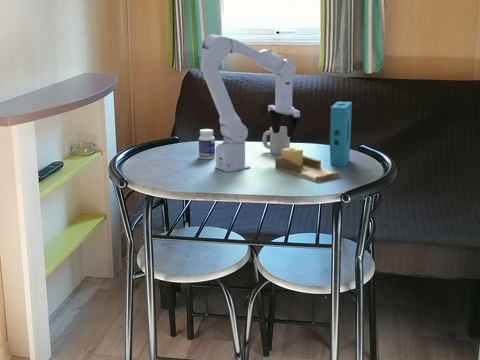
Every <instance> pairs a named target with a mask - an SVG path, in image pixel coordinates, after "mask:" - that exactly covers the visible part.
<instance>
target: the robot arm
mask: <svg viewBox="0 0 480 360" xmlns="http://www.w3.org/2000/svg"><path fill="white" fill-rule="evenodd" d="M200 50H201V56H200V65H199V67H200V71H201V73H202V76H203V78H204V80H205V83H206V85H207V87H208V91H209V92H210V95H211V97H212V100H213V103H214V105H215V107H216V110H217V112H218V115H219V119H218V121H219V124H220V127H219V128H220V134H221V135H222V136H223V140H222V142H221V143H219V144H217V145H216V146H215V165H214V167H215V169H218V170H221V171H224V172H227V173H229V172H236V171H241V170H245V169H249V168H251V165H248V164H246V139H247V138H248V136H249V135H248V134H249V130H248V128H247V126H246V125H245V124H244V123H243V122H242V120H241V118H240V116H238V113H237V112H236V111H235V109H234V105H233V103H232V101H231V97H230V96H229V92H228V91H227V87H226V86H225V83H224V80H223V77H222V75H221V73H220V70H219V67H220V65H221V64H222V62H223V61H224V59H226V57H228V55H229V54H235V53H237V54H240V55H242V56H245V57H247V58H249V59H251V60H254V62H255V64H256V66H258V67H260V68H262V69H264V70H266V71H270V72H271V73H273V74H274V75H275V83H274V84H275V89H274V90H275V91H274V92H275V93H274V95H275V98H274V104H275V105H274V104H269V105H267V111H268V112H267V113H266V116H267V118H268V119H269V122H270V125H271V127H272V129H273V133H279V131H280V126H281V120H282V118H284V121H285V125H286V126H285V127H287V136H288V137H290V138H293V137H294V136H295V132H296V128H297V125H298V123H299V121H300V120H301V111H300V110H298V109H296V108H295V107H294V106H293V81H294V75H295V74H296V72H297V67H296V65H295V63H294V62H293V60H291V59H286V58H284V55H281V54H280V55H278V54H276V53H273V52H272V49H270V48H266V49H265V48H264V49H260V50H257V49H256V48H253V47H252V46H250V45H247V44H246V43H244V42H242V41H240V40H238V39H234V38H231V37H227V36H224V35H217V34H208V35H207V36H206V37H205V38H204V40H203V41H202V44H201V45H200ZM283 115H287V116H284V117H283Z"/></svg>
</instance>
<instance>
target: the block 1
mask: <svg viewBox="0 0 480 360" xmlns="http://www.w3.org/2000/svg"><path fill="white" fill-rule="evenodd" d="M280 156H281V157H280V158H282V159H285V160H288V161H291V162H295V163H298V164H301V165H303V156H304V150H303V149H301V148H298V147H293V146H292V147H291V146H290V148H286V149H282V150H281V155H280Z"/></svg>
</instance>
